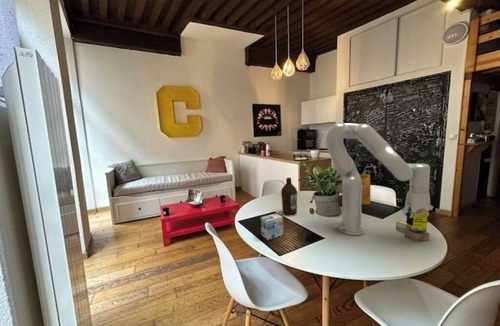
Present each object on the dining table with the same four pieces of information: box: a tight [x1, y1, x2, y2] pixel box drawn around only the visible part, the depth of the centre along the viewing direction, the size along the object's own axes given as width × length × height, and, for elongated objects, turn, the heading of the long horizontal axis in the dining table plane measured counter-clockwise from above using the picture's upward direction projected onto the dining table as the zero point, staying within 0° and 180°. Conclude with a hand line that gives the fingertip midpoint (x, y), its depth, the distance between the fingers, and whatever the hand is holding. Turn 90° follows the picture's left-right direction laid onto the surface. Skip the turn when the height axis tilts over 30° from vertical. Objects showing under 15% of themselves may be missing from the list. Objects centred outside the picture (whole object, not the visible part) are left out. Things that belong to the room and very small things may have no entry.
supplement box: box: [407, 209, 428, 232], centre depth 110 cm, size 6×6×11 cm
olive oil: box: [280, 177, 298, 216], centre depth 152 cm, size 11×11×25 cm
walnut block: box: [404, 228, 431, 243], centre depth 111 cm, size 7×7×4 cm
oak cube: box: [395, 218, 409, 234], centre depth 120 cm, size 5×5×5 cm
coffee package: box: [359, 173, 372, 206], centre depth 165 cm, size 10×12×22 cm
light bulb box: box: [260, 213, 284, 241], centre depth 122 cm, size 11×7×11 cm, turn 117°
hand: (416, 223), depth 111 cm, fingers closed on supplement box, 7 cm apart
